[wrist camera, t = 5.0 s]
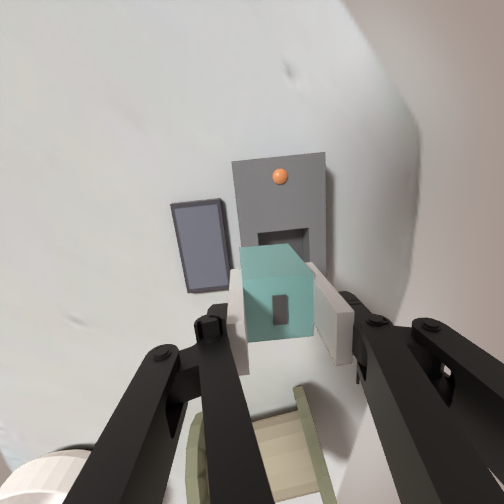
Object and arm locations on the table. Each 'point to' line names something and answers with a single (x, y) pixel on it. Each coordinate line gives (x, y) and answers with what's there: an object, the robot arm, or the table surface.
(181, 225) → the phone
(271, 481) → the spool
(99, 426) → the table surface
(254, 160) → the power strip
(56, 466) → the bowl
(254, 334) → the block
